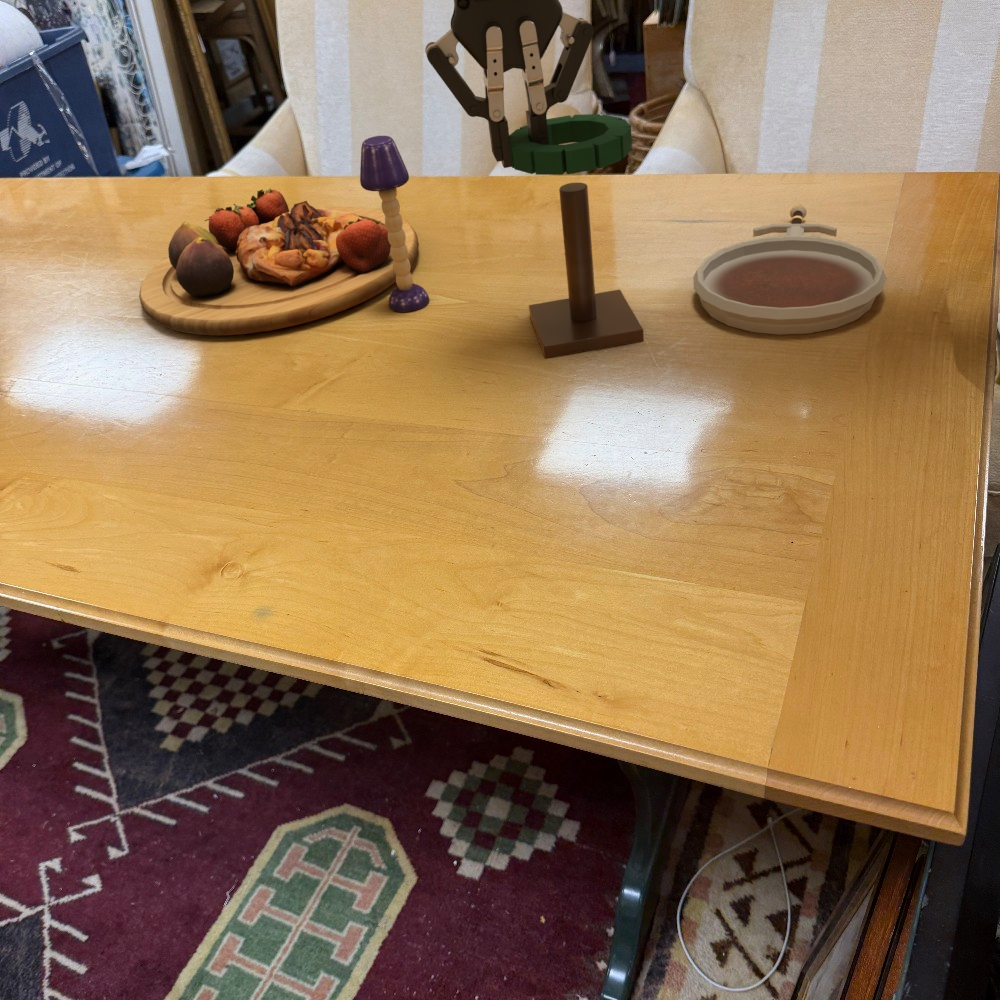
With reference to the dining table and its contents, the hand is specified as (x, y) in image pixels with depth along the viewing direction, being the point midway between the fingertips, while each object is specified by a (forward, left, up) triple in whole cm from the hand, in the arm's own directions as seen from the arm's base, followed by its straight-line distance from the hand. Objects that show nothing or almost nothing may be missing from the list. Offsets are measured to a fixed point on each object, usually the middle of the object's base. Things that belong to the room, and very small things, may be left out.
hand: (522, 161), depth 75 cm
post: (-4, 0, -16) cm, 16 cm away
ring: (-4, 0, 0) cm, 4 cm away
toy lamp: (+12, -12, -16) cm, 23 cm away
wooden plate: (+26, -26, -16) cm, 40 cm away
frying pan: (-25, -4, -16) cm, 30 cm away
